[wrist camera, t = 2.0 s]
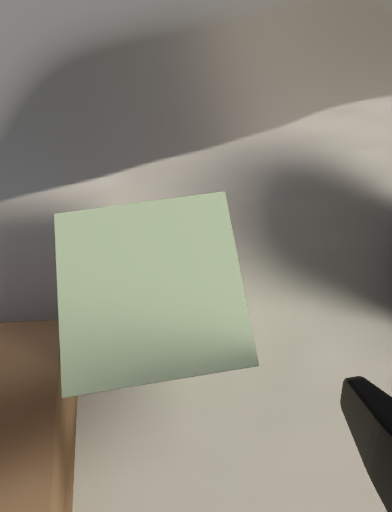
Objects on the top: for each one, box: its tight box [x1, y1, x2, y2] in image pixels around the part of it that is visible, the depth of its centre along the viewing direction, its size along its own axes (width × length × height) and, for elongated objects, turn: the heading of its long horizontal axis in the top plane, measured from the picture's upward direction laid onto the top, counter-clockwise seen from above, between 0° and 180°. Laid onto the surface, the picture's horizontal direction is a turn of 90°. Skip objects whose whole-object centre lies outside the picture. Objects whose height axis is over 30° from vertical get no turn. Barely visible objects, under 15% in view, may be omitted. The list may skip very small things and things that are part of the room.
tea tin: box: [54, 191, 259, 398], centre depth 15 cm, size 6×6×10 cm
